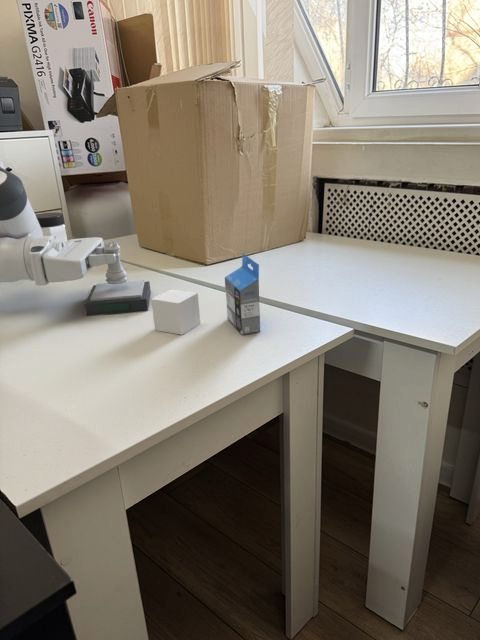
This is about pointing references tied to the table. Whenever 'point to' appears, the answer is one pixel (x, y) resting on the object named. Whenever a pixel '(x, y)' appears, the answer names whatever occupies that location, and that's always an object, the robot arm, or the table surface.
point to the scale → (118, 298)
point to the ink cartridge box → (244, 297)
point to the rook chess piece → (115, 266)
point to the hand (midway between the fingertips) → (117, 255)
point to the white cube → (176, 311)
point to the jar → (53, 225)
